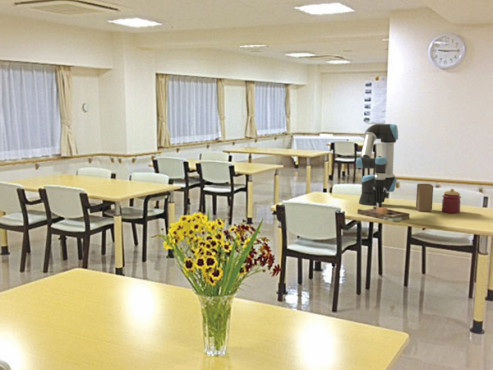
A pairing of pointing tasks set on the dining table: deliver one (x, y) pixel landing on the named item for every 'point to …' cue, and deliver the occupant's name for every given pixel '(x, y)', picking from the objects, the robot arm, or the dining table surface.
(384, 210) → the terracotta cube
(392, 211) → the trap tray
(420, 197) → the block
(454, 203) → the canister
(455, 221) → the dining table surface
